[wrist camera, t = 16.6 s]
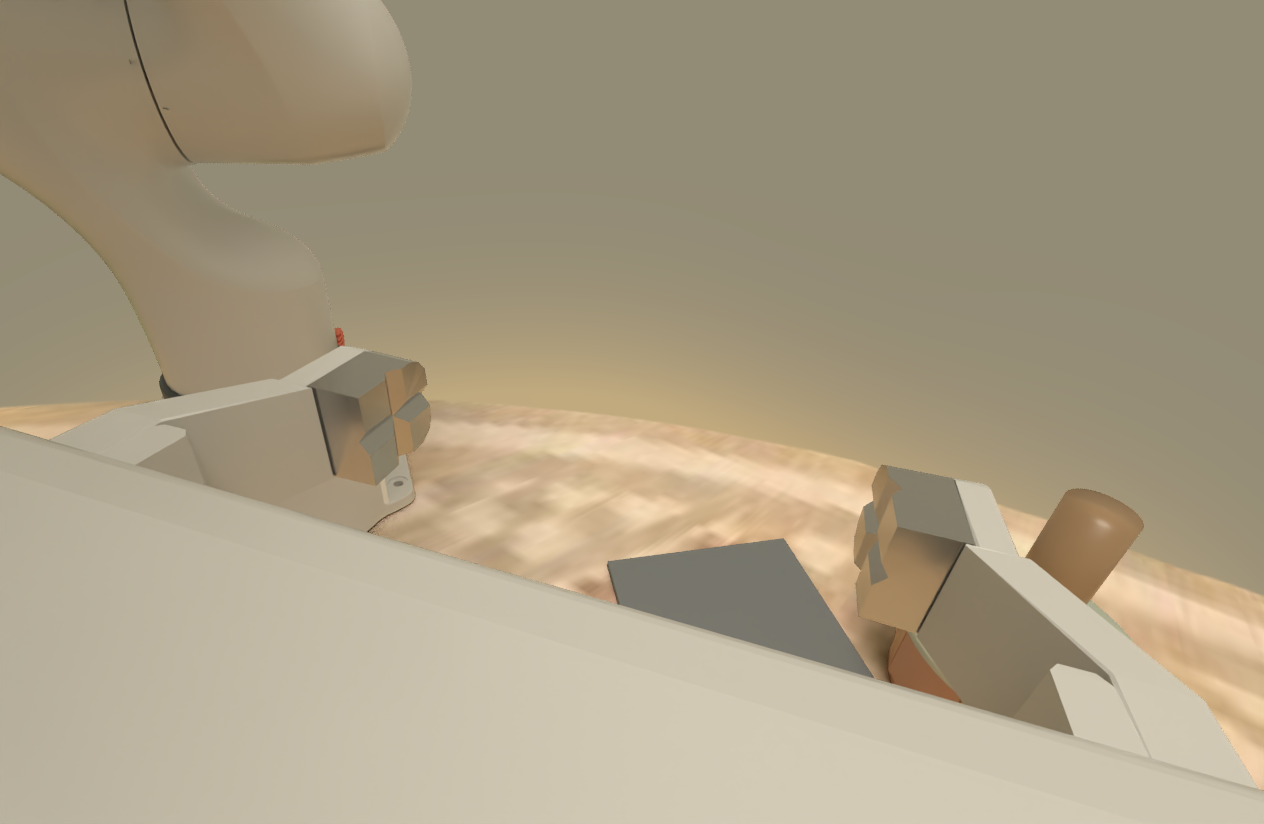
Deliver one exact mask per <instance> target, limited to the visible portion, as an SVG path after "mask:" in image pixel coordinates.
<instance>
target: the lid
mask: <svg viewBox="0 0 1264 824" xmlns="http://www.w3.org/2000/svg"><path fill="white" fill-rule="evenodd" d="M1143 528H1144V524H1143V521H1142V520H1141V518H1140V517H1139V516H1138V515H1137V514H1136V513H1135V512H1134V511H1133V510H1132V509H1130V508H1129V507H1128V506H1126V505H1125V504H1123V503H1122V502H1120V501H1118V500H1116V499H1114V498H1112V497H1110V496H1107V495H1105V494H1102V493H1099V492H1096V491H1092V490H1087V489H1071V490H1068V491H1067V492H1066V493H1065V495H1064V496H1063V498H1062V499H1061V501H1060V502H1059V504H1058V506H1057V507H1056V509H1055V511H1054V512H1053V514H1052V515H1051V517H1050V519H1049V520H1048V522H1047V523H1046V525H1045V527H1044V528H1043V530H1042V531H1041V533H1040V535H1039V536H1038V538H1037V540H1036V541H1035V543H1034V544H1033V546H1032V548H1031V549H1030V551H1029V552H1028V554H1027V556H1026V557H1025V558H1027V559H1031V560H1032V561H1033V562H1035V563H1036V564H1037V565H1038V566H1040V567H1041V568H1042V569H1043V570H1044V571H1046V572H1047V573H1048V574H1049V575H1051V576H1052V577H1053V578H1054V579H1055V580H1057V581H1058V582H1059V583H1060V584H1062V585H1063V586H1064V587H1065V588H1067V589H1068V590H1069V591H1070V592H1071V593H1073V594H1074V595H1075V596H1076V597H1078V598H1079V599H1080V600H1081V601H1083V602H1084V603H1085V604H1086V605H1087V606H1089V607H1090V608H1091V609H1092V610H1094V611H1095V612H1096V613H1097V614H1099V615H1100V616H1101V617H1102V618H1103V619H1105V620H1106V621H1107V622H1108V623H1110V624H1111V625H1112V626H1113V627H1115V628H1116V629H1117V630H1118V631H1119V632H1121V633H1122V634H1123V635H1124V636H1126V637H1127V638H1128V639H1129V640H1131V638H1130V637H1129V636H1128V635H1127V634H1126V633H1125V632H1124V630H1123V629H1122V628H1121V627H1120V626H1119V625H1118V624H1117V623H1116V622H1115V621H1114V620H1113V619H1112V618H1111V617H1110V616H1109V615H1108V614H1107V613H1105V612H1104V611H1103V610H1102V609H1101V608H1099V607H1098V606H1097V605H1096V604H1095V603H1093V602H1092V601H1091V598H1092V597H1093V596H1094V594H1095V593H1096V592H1097V590H1098V589H1099V588H1100V586H1101V585H1102V584H1103V582H1104V581H1105V580H1106V578H1107V577H1108V576H1109V574H1110V573H1111V571H1112V570H1113V569H1114V567H1115V566H1116V565H1117V563H1118V562H1119V561H1120V559H1121V558H1122V557H1123V555H1124V554H1125V553H1126V551H1127V550H1128V549H1129V547H1130V546H1131V545H1132V543H1133V542H1134V540H1135V539H1136V538H1137V537H1138V535H1139V534H1140V532H1141V531H1142V530H1143ZM907 632H908V634H909V636H910V638H911V640H912V642H913V644H914V645H915V647H916V648H917V650H918V651H919V653H920V654H921V656H922V657H923V659H924V660H925V661H926V662H927V664H928V665H929V666H930V667H931V668H932V670H933V671H934V672H935V673H936V674H937V675H938V676H939V677H940V678H941V679H942V680H943V681H944V682H945V683H946V684H947V685H948V686H949V687H950V688H951V689H952V690H953V688H952V687H951V685H950V684H949V682H948V681H947V680H946V678H945V677H944V675H943V674H942V672H941V671H940V670H939V668H938V667H937V665H936V664H935V662H934V661H933V659H932V658H931V657H930V655H929V654H928V652H927V651H926V649H925V648H924V647H923V645H922V644H921V642H920V641H919V639H918V638H917V637H916V636H917V634H915V633H912V632H909V631H907ZM1131 641H1132V640H1131ZM1132 642H1133V641H1132ZM1133 643H1134V642H1133ZM953 691H954V690H953Z"/></svg>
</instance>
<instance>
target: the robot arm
mask: <svg viewBox="0 0 1264 824" xmlns="http://www.w3.org/2000/svg"><path fill="white" fill-rule="evenodd" d="M411 96H412V77H411V68H410V63H409V59H408V54H407V51H406V48H405V45H404V42H403V39H402V37H401V34H400V32H399V30H398V28H397V26H396V24H395V22H394V21H393V19H392V17H391V15H390V13H389V12H388V10H387V9H386V7H385V6H384V4H383V3H382V2H381V0H0V174H1V175H2V176H4V177H5V178H7V179H8V180H10V181H11V182H13V183H15V184H16V185H18V186H19V187H21V188H22V189H24V190H25V191H27V192H28V193H29V194H31V195H32V196H33V197H35V198H36V199H38V200H39V201H40V202H42V203H43V204H45V205H46V206H47V207H48V208H49V209H51V210H52V211H53V212H54V213H56V214H57V215H58V216H59V217H61V218H62V219H63V220H64V221H65V222H66V223H67V224H68V225H69V226H71V227H72V228H73V229H74V230H75V231H76V232H77V233H78V234H79V235H80V236H82V238H83V239H84V240H85V241H86V242H87V243H88V244H89V245H90V246H91V247H92V248H93V249H94V250H95V252H96V253H97V254H98V255H99V256H100V257H101V259H102V260H103V261H104V262H105V264H106V265H107V266H108V267H109V269H110V270H111V271H112V273H113V274H114V276H115V277H116V279H117V280H118V282H119V284H120V285H121V287H122V289H123V290H124V292H125V294H126V296H127V297H128V300H129V302H130V303H131V305H132V307H133V309H134V311H135V313H136V315H137V317H138V319H139V321H140V323H141V325H142V328H143V329H144V332H145V334H146V336H147V338H148V340H149V343H150V345H151V347H152V349H153V352H154V354H155V356H156V358H157V361H158V363H159V366H160V368H161V371H162V375H161V377H160V381H159V383H160V388H161V391H162V394H163V397H162V398H163V399H162V400H158V401H152V402H147V403H142V404H137V405H132V406H126V407H121V408H116V409H113V410H111V411H109V412H107V413H105V414H103V415H101V416H98V417H96V418H94V419H92V420H90V421H88V422H86V423H84V424H82V425H79V426H77V427H75V428H73V429H71V430H69V431H67V432H65V433H62V434H60V435H58V436H56V437H54V438H52V439H50V440H47V439H43V438H40V437H36V436H33V435H30V434H26V433H23V432H19V431H16V430H12V429H9V428H5V427H2V426H0V824H1264V791H1263V790H1260V789H1258V787H1257V785H1256V784H1255V782H1254V780H1253V779H1252V777H1251V776H1250V774H1249V772H1248V771H1247V769H1246V767H1245V766H1244V764H1243V763H1242V761H1241V759H1240V758H1239V756H1238V754H1237V753H1236V751H1235V749H1234V748H1233V746H1232V745H1231V743H1230V741H1229V740H1228V738H1227V736H1226V735H1225V733H1224V731H1223V730H1222V728H1221V727H1220V725H1219V723H1218V722H1217V720H1216V718H1215V717H1214V715H1213V713H1212V712H1211V710H1210V709H1209V707H1208V705H1207V704H1206V702H1205V701H1204V700H1203V699H1202V698H1201V697H1199V696H1198V695H1197V694H1196V693H1194V692H1193V691H1192V690H1191V689H1190V688H1188V687H1187V686H1186V685H1185V684H1183V683H1182V682H1181V681H1180V680H1178V679H1177V678H1176V677H1175V676H1174V675H1172V674H1171V673H1170V672H1169V671H1167V670H1166V669H1165V668H1164V667H1163V666H1161V665H1160V664H1159V663H1158V662H1156V661H1155V660H1154V659H1153V658H1151V657H1150V656H1149V655H1148V654H1147V653H1145V652H1144V651H1143V650H1142V649H1140V648H1139V647H1138V646H1137V645H1135V644H1134V643H1133V642H1132V641H1131V640H1129V639H1128V638H1127V637H1126V636H1124V635H1123V634H1122V633H1121V632H1119V631H1118V630H1117V629H1116V628H1115V627H1113V626H1112V625H1111V624H1110V623H1108V622H1107V621H1106V620H1105V619H1103V618H1102V617H1101V616H1100V615H1099V614H1097V613H1096V612H1095V611H1094V610H1092V609H1091V608H1090V607H1089V606H1087V605H1086V604H1085V603H1084V602H1083V601H1081V600H1080V599H1079V598H1078V597H1076V596H1075V595H1074V594H1073V593H1071V592H1070V591H1069V590H1068V589H1067V588H1065V587H1064V586H1063V585H1062V584H1060V583H1059V582H1058V581H1057V580H1055V579H1054V578H1053V577H1052V576H1051V575H1049V574H1048V573H1047V572H1046V571H1044V570H1043V569H1042V568H1041V567H1040V566H1038V565H1037V564H1036V563H1035V562H1033V561H1032V560H1031V559H1027V558H1023V557H1019V555H1018V552H1017V550H1016V548H1015V545H1014V543H1013V541H1012V538H1011V536H1010V534H1009V531H1008V529H1007V526H1006V524H1005V522H1004V519H1003V517H1002V515H1001V512H1000V510H999V508H998V505H997V503H996V501H995V498H994V496H993V493H992V491H991V489H990V488H989V487H988V486H987V485H985V484H981V483H976V482H970V481H965V480H959V479H954V478H948V477H943V476H938V475H933V474H928V473H922V472H917V471H912V470H907V469H902V468H897V467H892V466H886V465H881V467H880V468H879V470H878V472H877V474H876V476H875V479H874V481H873V483H872V492H873V501H872V502H871V503H869V504H867V505H866V506H864V507H863V510H862V512H861V515H860V518H859V521H858V524H857V529H856V534H855V538H854V563H855V564H856V565H857V567H858V568H859V569H860V570H861V571H860V574H859V576H858V579H857V581H856V596H857V608H858V617H861V618H865V619H868V620H872V621H875V622H878V623H882V624H885V625H888V626H892V627H895V628H899V629H902V630H905V631H909V632H912V633H915V634H917V636H916V637H917V638H918V639H919V641H920V642H921V644H922V645H923V647H924V648H925V649H926V651H927V652H928V654H929V655H930V657H931V658H932V659H933V661H934V662H935V664H936V665H937V667H938V668H939V670H940V671H941V672H942V674H943V675H944V677H945V678H946V680H947V681H948V682H949V684H950V685H951V687H952V688H953V690H954V691H955V692H956V694H957V695H958V697H959V698H960V700H961V701H962V703H963V704H962V703H958V702H955V701H951V700H948V699H944V698H941V697H937V696H934V695H931V694H927V693H924V692H920V691H917V690H913V689H910V688H906V687H903V686H899V685H896V684H892V683H889V682H885V681H882V680H878V679H875V678H871V677H867V676H864V675H861V674H857V673H854V672H850V671H847V670H843V669H840V668H836V667H833V666H829V665H826V664H823V663H819V662H816V661H812V660H809V659H805V658H802V657H798V656H795V655H791V654H788V653H784V652H781V651H778V650H774V649H771V648H767V647H764V646H760V645H757V644H753V643H750V642H746V641H743V640H740V639H736V638H733V637H729V636H726V635H722V634H719V633H715V632H712V631H708V630H705V629H701V628H698V627H695V626H691V625H688V624H684V623H681V622H677V621H674V620H670V619H667V618H663V617H660V616H657V615H653V614H650V613H646V612H643V611H639V610H636V609H632V608H629V607H625V606H622V605H618V604H615V603H612V602H608V601H605V600H601V599H598V598H594V597H591V596H587V595H584V594H580V593H577V592H573V591H570V590H566V589H563V588H560V587H556V586H553V585H549V584H546V583H542V582H539V581H535V580H532V579H528V578H525V577H521V576H518V575H514V574H511V573H507V572H504V571H500V570H497V569H493V568H490V567H486V566H483V565H479V564H476V563H472V562H469V561H465V560H462V559H459V558H455V557H452V556H448V555H445V554H441V553H438V552H434V551H431V550H427V549H424V548H420V547H417V546H414V545H410V544H407V543H403V542H400V541H396V540H393V539H389V538H386V537H382V536H379V535H376V534H372V533H369V532H367V531H368V530H369V529H370V528H371V527H373V526H374V525H375V524H376V523H377V522H378V521H379V520H381V519H382V518H383V517H385V516H386V515H389V514H391V513H393V512H395V511H397V510H399V509H401V508H403V507H405V506H407V505H408V504H410V503H411V502H412V501H413V500H414V499H415V490H414V486H413V481H412V477H411V473H410V468H409V464H408V460H407V455H406V454H407V453H410V452H413V451H415V450H416V449H417V448H418V447H419V446H420V445H421V444H422V443H423V441H424V439H425V437H426V435H427V433H428V431H429V428H430V421H431V412H430V405H429V403H428V402H427V401H426V399H425V398H424V396H423V395H422V394H421V393H422V391H423V390H424V388H425V387H426V385H427V380H426V374H425V369H424V368H423V367H422V366H421V365H420V363H419V362H415V361H412V360H408V359H403V358H399V357H395V356H391V355H387V354H383V353H378V352H374V351H370V350H367V349H362V348H357V347H352V346H344V335H343V332H342V330H341V328H334V324H333V320H332V315H331V310H330V305H329V300H328V295H327V290H326V286H325V281H324V276H323V271H322V268H321V266H320V264H319V262H318V261H317V259H316V257H315V256H314V255H313V253H312V252H311V251H310V250H309V249H308V248H307V247H306V246H305V245H304V244H303V243H302V242H301V241H299V240H298V239H297V238H295V237H294V236H293V235H291V234H289V233H288V232H286V231H284V230H283V229H281V228H279V227H277V226H275V225H272V224H270V223H267V222H265V221H262V220H260V219H257V218H254V217H252V216H249V215H246V214H244V213H241V212H239V211H236V210H234V209H232V208H231V207H229V206H227V205H226V204H224V203H223V202H221V201H220V200H218V199H217V198H216V197H215V196H214V195H212V194H211V193H210V192H209V191H208V190H207V189H206V188H205V187H204V186H203V185H202V183H201V182H200V181H199V179H198V178H197V176H196V175H195V173H194V172H193V170H192V168H191V166H190V165H193V164H197V163H239V164H300V165H301V164H302V165H316V164H321V163H328V162H334V161H340V160H346V159H352V158H357V157H362V156H367V155H371V154H376V153H381V152H385V151H387V149H388V148H389V147H390V146H391V145H392V144H393V143H394V141H395V140H396V139H397V137H398V136H399V134H400V132H401V130H402V128H403V126H404V124H405V121H406V119H407V116H408V112H409V109H410V103H411Z"/></svg>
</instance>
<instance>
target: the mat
mask: <svg viewBox="0 0 1264 824" xmlns="http://www.w3.org/2000/svg"><path fill="white" fill-rule="evenodd" d="M607 566H608V570H609V573H610V577H611V580H612V584H613V588H614V591H615V595H616V598H617V602H618V605H622V606H625V607H629V608H632V609H636V610H639V611H643V612H646V613H650V614H653V615H657V616H660V617H663V618H667V619H670V620H674V621H677V622H681V623H684V624H688V625H691V626H695V627H698V628H701V629H705V630H708V631H712V632H715V633H719V634H722V635H726V636H729V637H733V638H736V639H740V640H743V641H746V642H750V643H753V644H757V645H760V646H764V647H767V648H771V649H774V650H778V651H781V652H784V653H788V654H791V655H795V656H798V657H802V658H805V659H809V660H812V661H816V662H819V663H823V664H826V665H829V666H833V667H836V668H840V669H843V670H847V671H850V672H854V673H857V674H861V675H864V676H867V677H871V678H874V677H873V675H872V674H871V672H870V671H869V669H868V668H867V666H866V665H865V663H864V662H863V660H862V658H861V657H860V655H859V654H858V652H857V651H856V649H855V648H854V646H853V645H852V643H851V641H850V640H849V638H848V637H847V635H846V634H845V632H844V631H843V629H842V628H841V626H840V624H839V623H838V621H837V620H836V618H835V617H834V615H833V614H832V612H831V611H830V609H829V608H828V606H827V604H826V603H825V601H824V600H823V598H822V597H821V595H820V594H819V592H818V591H817V589H816V587H815V586H814V584H813V583H812V581H811V580H810V578H809V577H808V575H807V574H806V572H805V571H804V569H803V567H802V566H801V564H800V563H799V561H798V560H797V558H796V557H795V555H794V554H793V552H792V550H791V549H790V547H789V546H788V544H787V543H786V541H785V540H784V538H783V539H775V540H768V541H760V542H753V543H745V544H737V545H730V546H722V547H714V548H707V549H699V550H691V551H684V552H676V553H668V554H661V555H653V556H646V557H638V558H630V559H623V560H615V561H608V565H607Z"/></svg>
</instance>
